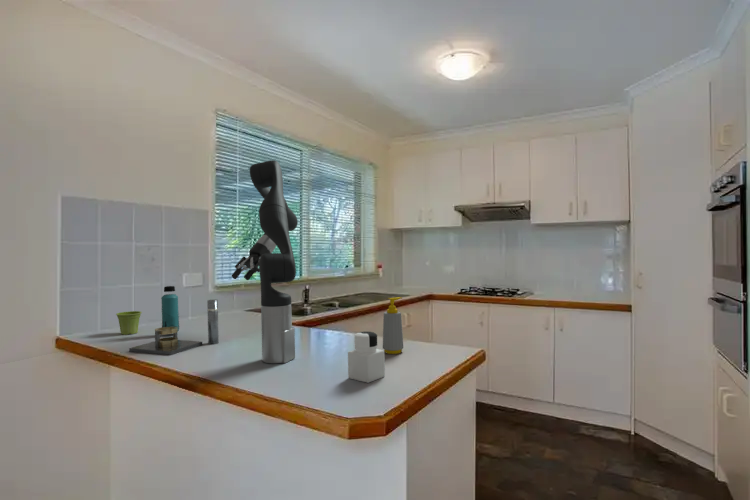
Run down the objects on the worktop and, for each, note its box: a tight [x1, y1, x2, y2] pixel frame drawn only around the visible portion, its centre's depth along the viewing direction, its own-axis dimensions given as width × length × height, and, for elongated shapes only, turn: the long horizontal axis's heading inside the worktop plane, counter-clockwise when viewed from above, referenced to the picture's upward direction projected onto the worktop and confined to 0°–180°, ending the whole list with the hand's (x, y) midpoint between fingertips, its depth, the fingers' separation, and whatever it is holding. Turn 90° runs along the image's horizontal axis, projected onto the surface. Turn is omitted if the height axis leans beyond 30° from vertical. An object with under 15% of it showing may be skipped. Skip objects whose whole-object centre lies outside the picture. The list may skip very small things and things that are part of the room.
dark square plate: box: [128, 326, 203, 356], centre depth 152 cm, size 18×15×7 cm
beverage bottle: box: [160, 285, 180, 332], centre depth 176 cm, size 6×7×20 cm
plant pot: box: [115, 310, 143, 336], centre depth 180 cm, size 9×9×9 cm
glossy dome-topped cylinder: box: [206, 299, 220, 345], centre depth 159 cm, size 4×4×16 cm
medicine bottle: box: [347, 331, 386, 384], centre depth 115 cm, size 7×7×12 cm
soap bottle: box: [382, 296, 404, 355], centre depth 141 cm, size 7×7×18 cm
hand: (239, 278), depth 168 cm, fingers open, 8 cm apart
